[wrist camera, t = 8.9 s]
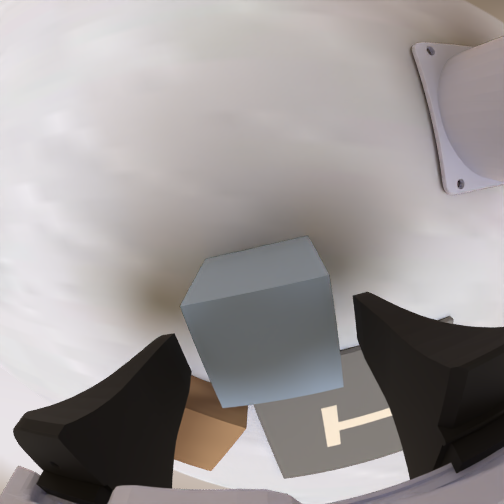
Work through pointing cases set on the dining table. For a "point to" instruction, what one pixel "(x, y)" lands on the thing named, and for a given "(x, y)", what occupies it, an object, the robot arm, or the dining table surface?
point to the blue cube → (265, 323)
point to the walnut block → (207, 427)
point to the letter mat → (332, 423)
